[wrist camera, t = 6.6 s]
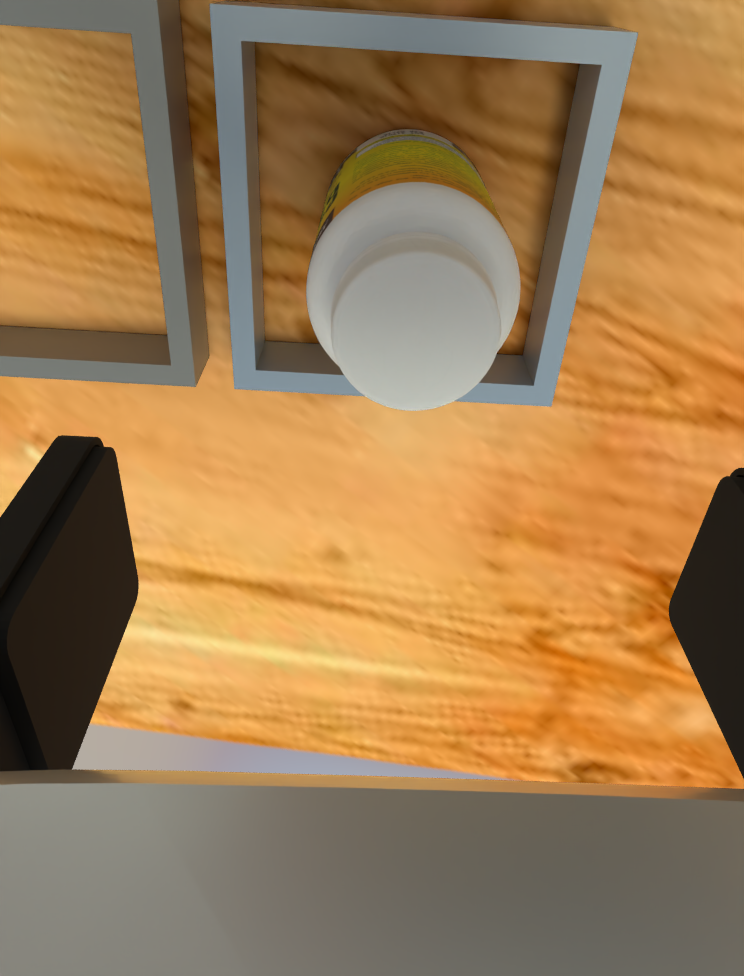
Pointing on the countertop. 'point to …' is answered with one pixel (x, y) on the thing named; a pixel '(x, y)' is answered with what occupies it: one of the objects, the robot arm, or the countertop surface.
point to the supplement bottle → (411, 272)
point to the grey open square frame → (165, 121)
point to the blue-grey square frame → (250, 22)
